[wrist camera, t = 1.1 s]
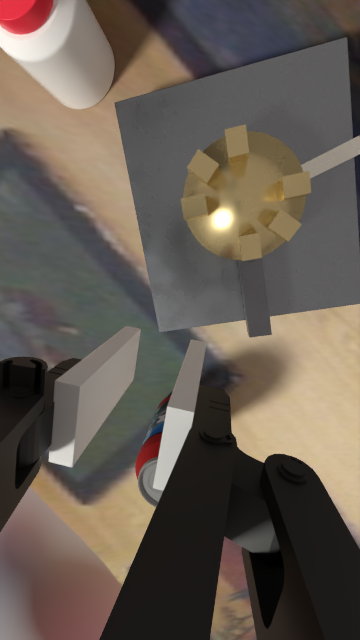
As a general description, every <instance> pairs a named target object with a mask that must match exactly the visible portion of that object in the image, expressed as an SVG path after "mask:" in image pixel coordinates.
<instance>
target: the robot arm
mask: <svg viewBox="0 0 360 640" xmlns="http://www.w3.org/2000/svg"><path fill="white" fill-rule="evenodd" d="M140 331H141V329H138V328H133V327H128V326H125V327H124V328H123V329H121V330H120V331H119V332H118V333H116V334H115V335H114V336H112V337H111V338H110V339H108V340H107V341H106V342H105V343H103V344H102V345H101V346H99V347H98V348H97V349H96V350H94V351H93V352H92V353H90V354H89V355H88V356H86V357H85V358H84V359H83V360H80V359H76V358H72V359H69V360H65V361H62V362H61V363H59V364H58V365H56V366H55V367H54V368H52V369H51V370H49V371H48V372H47V368H48V366H47V363H46V362H45V361H43V360H41V359H37V358H34V357H14V358H9V359H5V360H3V361H0V532H1V530H2V529H3V527H4V525H5V524H6V522H7V521H8V519H9V518H10V516H11V514H12V513H13V511H14V510H15V508H16V506H17V505H18V503H19V502H20V500H21V499H22V497H23V496H24V494H25V492H26V491H27V489H28V488H29V486H30V485H31V483H32V481H33V480H34V478H35V477H36V475H37V473H38V472H39V469H40V466H41V455H42V454H43V453H44V452H45V451H46V450H47V449H48V447H49V446H50V452H49V462H53V463H56V464H60V465H64V466H68V467H73V465H74V464H75V463H76V461H77V460H78V458H79V457H80V455H81V454H82V453H83V451H84V450H85V448H86V447H87V445H88V444H89V442H90V441H91V440H92V438H93V437H94V435H95V434H96V432H97V431H98V430H99V428H100V427H101V425H102V424H103V422H104V421H105V420H106V418H107V417H108V415H109V414H110V412H111V411H112V409H113V408H114V407H115V405H116V404H117V402H118V401H119V399H120V398H121V397H122V395H123V394H124V392H125V391H126V389H127V388H128V386H129V385H130V384H131V382H132V381H133V379H134V372H135V365H136V358H137V352H138V345H139V338H140ZM205 348H206V342H201V341H196V340H192V339H191V341H190V344H189V347H188V350H187V352H186V355H185V358H184V361H183V364H182V366H181V369H180V372H179V375H178V378H177V381H176V383H175V386H174V389H173V392H172V395H171V397H170V400H169V403H168V406H167V411H166V416H165V422H164V428H163V433H162V439H161V444H160V450H159V456H158V461H157V467H156V472H155V478H154V483H153V488H154V489H158V490H162V491H163V493H162V495H161V497H160V500H159V502H158V504H157V507H156V509H155V511H154V514H153V516H152V518H151V521H150V523H149V525H148V528H147V530H146V532H145V535H144V537H143V539H142V542H141V544H140V546H139V549H138V551H137V553H136V556H135V558H134V560H133V563H132V565H131V567H130V570H129V572H128V574H127V577H126V579H125V581H124V584H123V586H122V588H121V591H120V593H119V596H118V598H117V600H116V603H115V605H114V607H113V609H112V612H111V614H110V616H109V619H108V621H107V623H106V625H105V628H104V630H103V632H102V635H101V637H100V640H210V633H211V626H212V619H213V612H214V604H215V597H216V590H217V583H218V576H219V569H220V562H221V555H222V547H223V540H224V536H225V537H227V538H228V539H230V540H232V541H233V542H235V543H237V544H238V545H240V546H242V556H243V562H244V568H245V573H246V579H247V585H248V591H249V596H250V602H251V608H252V614H253V619H254V625H255V631H256V637H257V640H360V549H359V548H358V546H357V544H356V542H355V540H354V539H353V537H352V535H351V533H350V532H349V530H348V528H347V526H346V524H345V523H344V521H343V519H342V517H341V516H340V514H339V512H338V510H337V509H336V507H335V505H334V503H333V501H332V500H331V498H330V496H329V494H328V493H327V491H326V489H325V487H324V485H323V484H322V482H321V480H320V478H319V477H318V475H317V474H316V473H315V472H314V470H313V469H312V468H310V467H309V466H308V465H307V464H305V463H304V462H303V461H301V460H299V459H297V458H295V457H292V456H288V455H285V454H273V455H270V456H268V457H267V459H266V460H265V463H263V462H260V461H258V460H256V459H254V458H252V457H250V456H248V455H246V454H245V453H244V452H242V451H241V450H240V449H239V448H238V447H237V442H236V438H235V437H234V435H233V434H232V433H231V413H230V397H229V396H228V395H227V393H226V392H225V391H224V390H222V389H217V388H213V387H208V386H203V385H199V383H200V377H201V371H202V366H203V360H204V354H205Z"/></svg>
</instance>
